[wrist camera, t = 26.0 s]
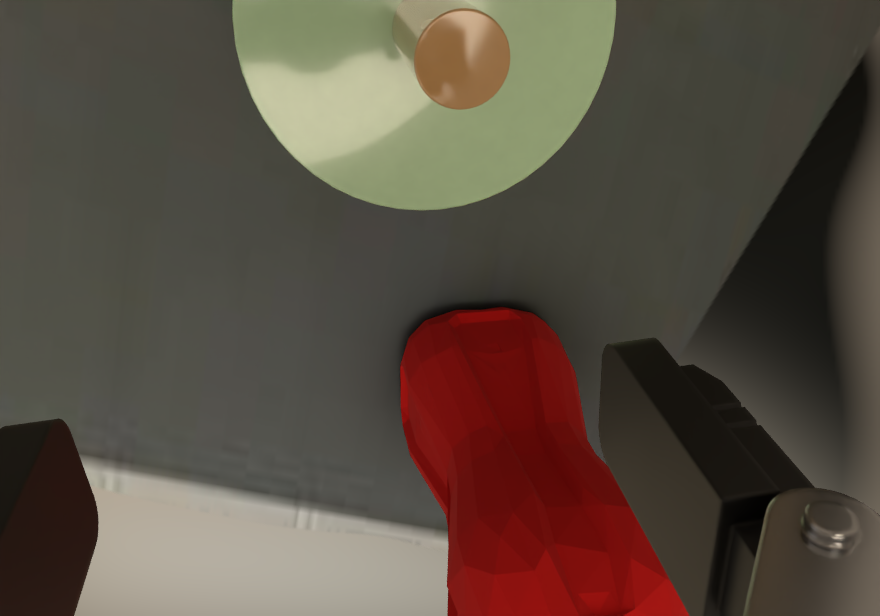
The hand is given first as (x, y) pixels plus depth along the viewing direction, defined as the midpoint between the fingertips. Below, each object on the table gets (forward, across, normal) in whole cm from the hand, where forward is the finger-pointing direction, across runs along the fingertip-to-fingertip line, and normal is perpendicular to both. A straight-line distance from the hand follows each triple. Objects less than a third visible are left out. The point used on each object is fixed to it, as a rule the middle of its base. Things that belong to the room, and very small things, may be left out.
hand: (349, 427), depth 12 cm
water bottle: (+28, -7, +19) cm, 35 cm away
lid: (+17, -4, -3) cm, 18 cm away
